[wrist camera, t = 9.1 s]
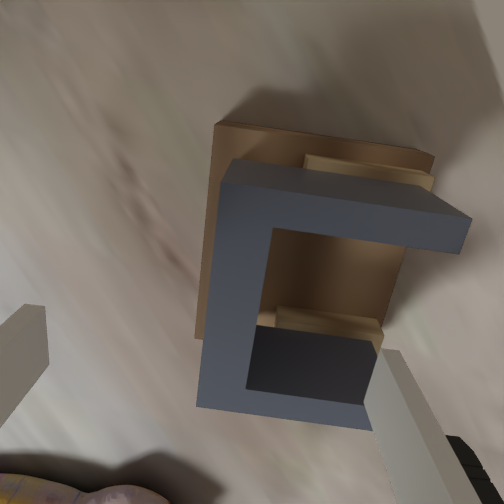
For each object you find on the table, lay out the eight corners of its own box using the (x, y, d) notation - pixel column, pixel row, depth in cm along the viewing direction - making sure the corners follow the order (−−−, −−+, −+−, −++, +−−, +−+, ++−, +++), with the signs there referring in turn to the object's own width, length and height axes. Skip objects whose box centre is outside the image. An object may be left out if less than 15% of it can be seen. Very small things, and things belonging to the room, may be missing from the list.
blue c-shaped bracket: (211, 338, 26) (196, 406, 20) (233, 157, 21) (220, 181, 16) (365, 360, 26) (391, 433, 21) (419, 185, 21) (472, 218, 16)
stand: (200, 316, 31) (189, 355, 27) (220, 120, 25) (209, 127, 21) (361, 338, 31) (377, 381, 27) (416, 149, 26) (449, 162, 21)
